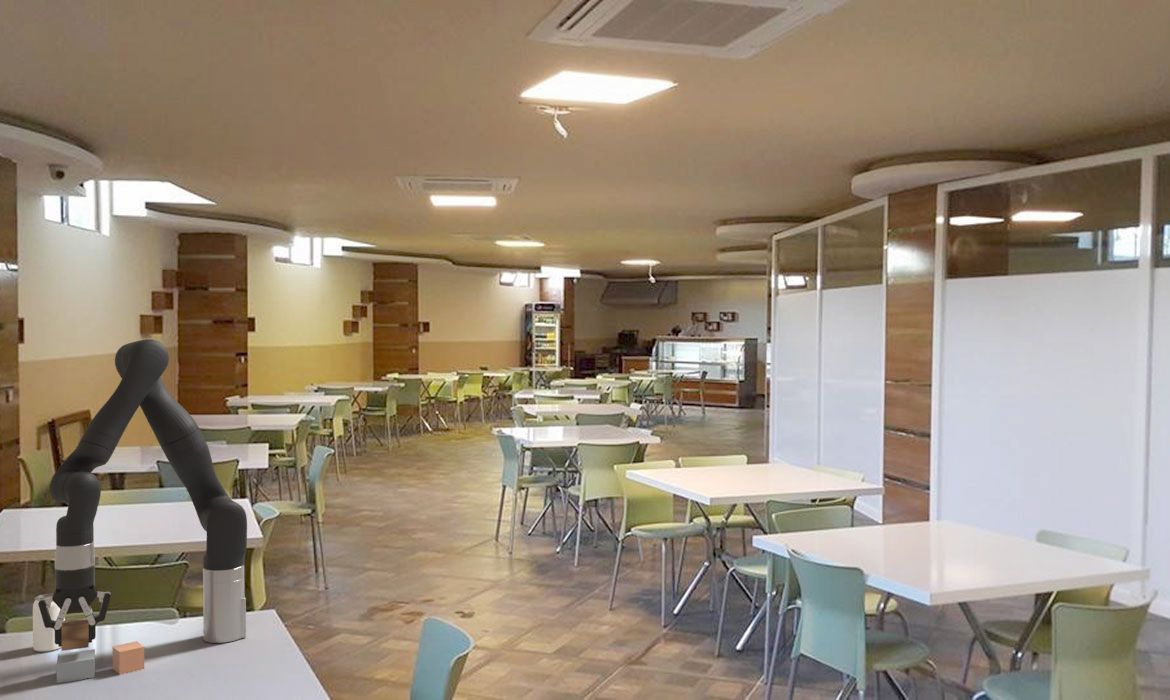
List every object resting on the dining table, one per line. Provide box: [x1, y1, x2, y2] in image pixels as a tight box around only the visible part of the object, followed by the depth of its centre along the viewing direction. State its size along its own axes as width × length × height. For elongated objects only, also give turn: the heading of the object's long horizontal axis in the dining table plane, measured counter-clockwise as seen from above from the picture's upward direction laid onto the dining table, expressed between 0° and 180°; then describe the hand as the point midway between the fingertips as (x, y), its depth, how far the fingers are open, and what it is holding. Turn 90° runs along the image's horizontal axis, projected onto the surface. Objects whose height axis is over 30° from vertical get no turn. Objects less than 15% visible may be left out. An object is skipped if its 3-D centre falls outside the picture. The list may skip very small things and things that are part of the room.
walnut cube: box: [61, 617, 90, 652], centre depth 199 cm, size 5×5×5 cm
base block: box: [56, 648, 96, 684], centre depth 199 cm, size 7×7×4 cm
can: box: [32, 592, 66, 653], centre depth 216 cm, size 6×6×12 cm
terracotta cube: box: [112, 640, 145, 675], centre depth 203 cm, size 5×5×5 cm
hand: (75, 643), depth 199 cm, fingers closed on walnut cube, 5 cm apart
